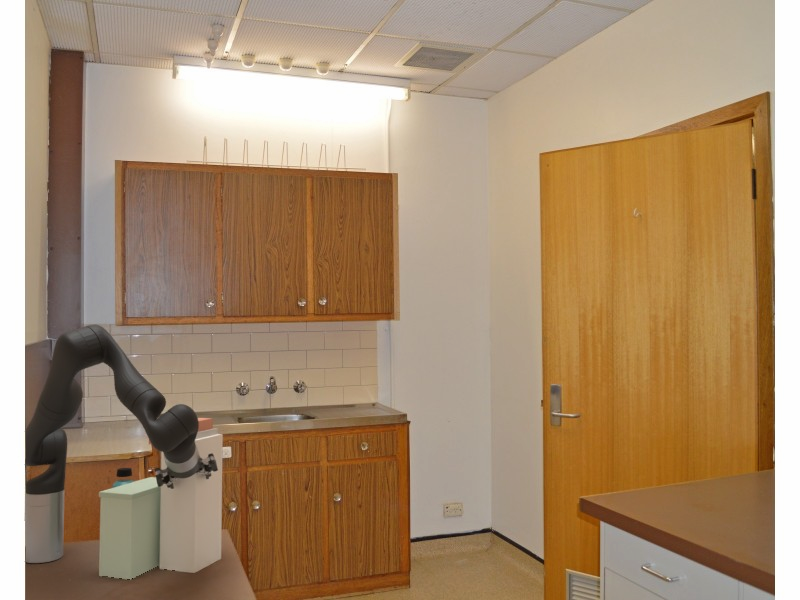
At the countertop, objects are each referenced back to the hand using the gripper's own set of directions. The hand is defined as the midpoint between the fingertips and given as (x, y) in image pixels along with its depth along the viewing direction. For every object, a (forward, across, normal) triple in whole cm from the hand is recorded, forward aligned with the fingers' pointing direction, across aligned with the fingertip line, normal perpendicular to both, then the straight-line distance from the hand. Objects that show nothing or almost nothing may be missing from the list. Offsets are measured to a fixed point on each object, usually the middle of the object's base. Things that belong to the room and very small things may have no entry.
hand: (189, 480), depth 180 cm
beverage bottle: (+37, +22, -2) cm, 44 cm away
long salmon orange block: (-4, 0, -9) cm, 10 cm away
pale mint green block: (+15, +16, +13) cm, 26 cm away
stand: (+15, +4, +16) cm, 22 cm away
